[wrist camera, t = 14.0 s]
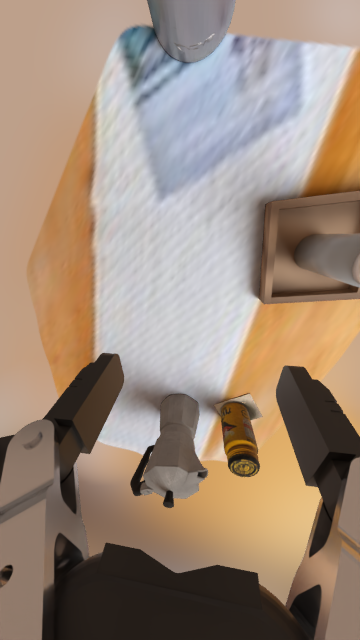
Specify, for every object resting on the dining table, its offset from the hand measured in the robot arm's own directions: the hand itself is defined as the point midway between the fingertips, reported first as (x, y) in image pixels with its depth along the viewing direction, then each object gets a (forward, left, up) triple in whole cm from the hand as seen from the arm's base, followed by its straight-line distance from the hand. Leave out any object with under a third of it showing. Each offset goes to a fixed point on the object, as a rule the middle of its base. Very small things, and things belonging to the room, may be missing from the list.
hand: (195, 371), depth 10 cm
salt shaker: (-2, +17, -24) cm, 30 cm away
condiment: (+31, +7, -25) cm, 40 cm away
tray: (-2, +17, -25) cm, 30 cm away
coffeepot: (+31, -7, -25) cm, 40 cm away
